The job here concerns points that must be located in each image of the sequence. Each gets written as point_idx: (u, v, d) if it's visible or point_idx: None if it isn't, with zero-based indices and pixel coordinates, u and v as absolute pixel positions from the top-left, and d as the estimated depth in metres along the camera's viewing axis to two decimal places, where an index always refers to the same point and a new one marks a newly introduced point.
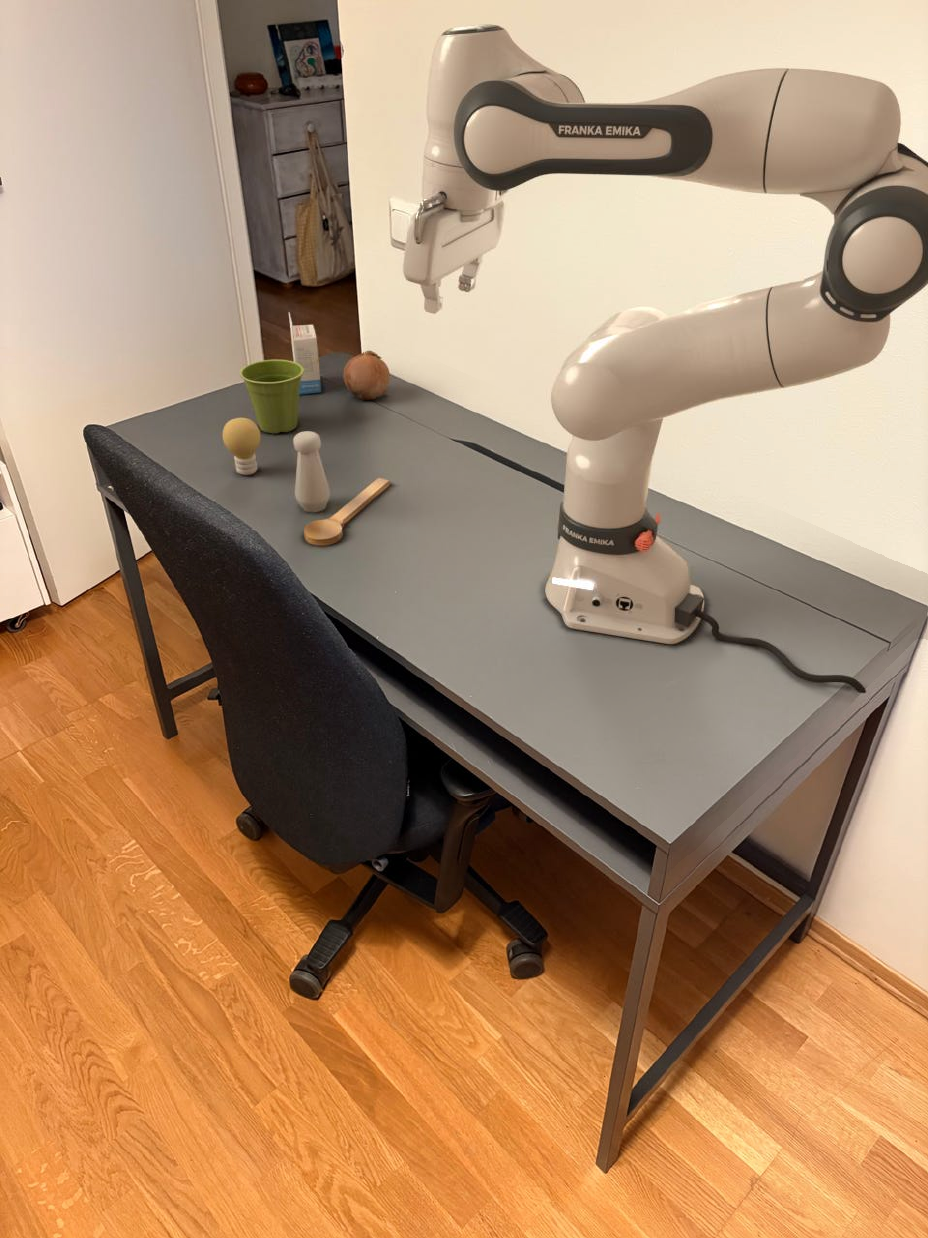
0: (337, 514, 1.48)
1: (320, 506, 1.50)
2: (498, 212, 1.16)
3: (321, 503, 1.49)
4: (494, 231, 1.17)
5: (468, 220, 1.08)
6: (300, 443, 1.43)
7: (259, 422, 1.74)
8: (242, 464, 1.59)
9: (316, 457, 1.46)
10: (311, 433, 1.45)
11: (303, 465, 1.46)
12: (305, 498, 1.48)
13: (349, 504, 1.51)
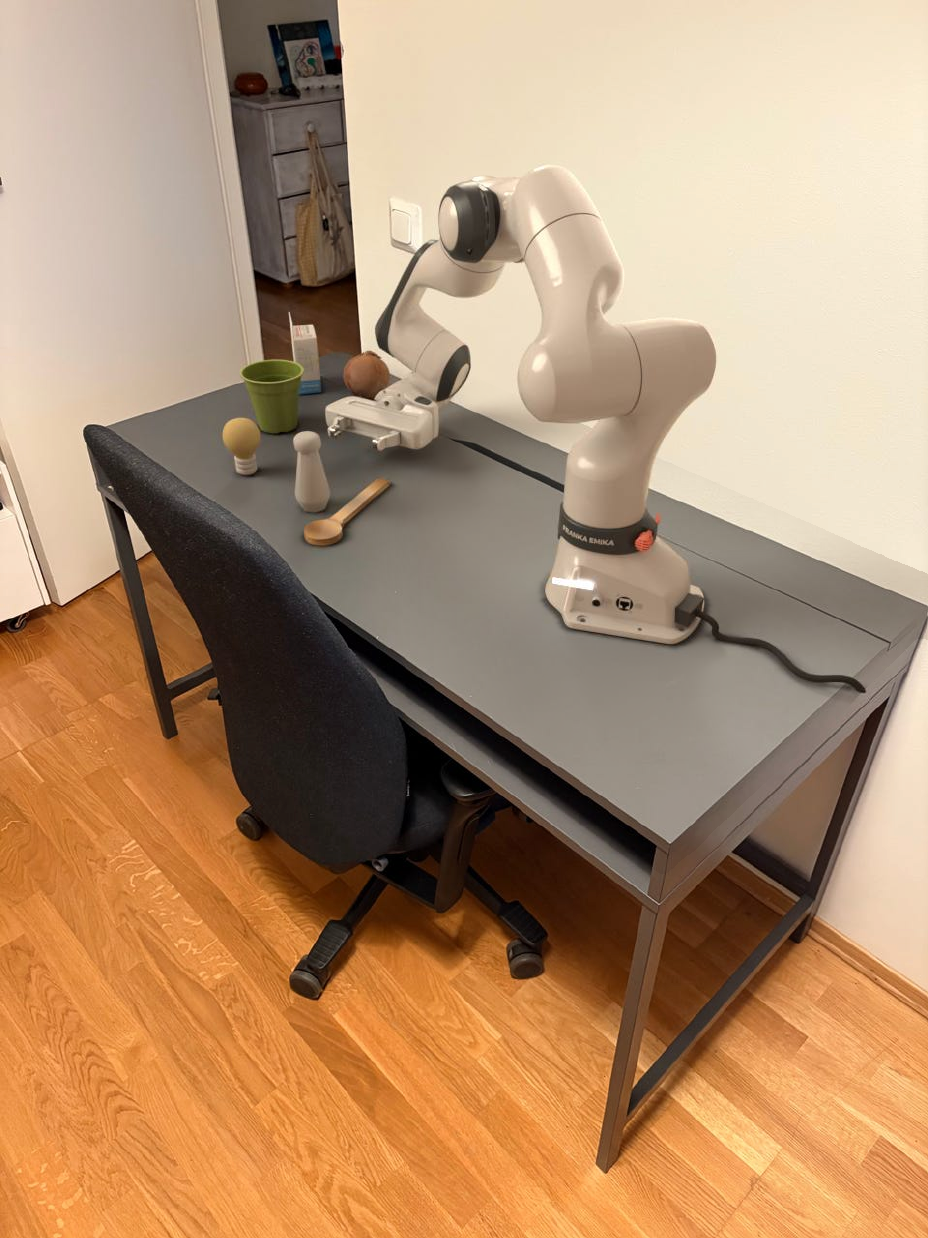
0: (337, 514, 1.48)
1: (320, 506, 1.50)
2: (421, 417, 1.58)
3: (321, 503, 1.49)
4: (413, 423, 1.57)
5: (378, 401, 1.63)
6: (300, 443, 1.43)
7: (259, 422, 1.74)
8: (242, 464, 1.59)
9: (316, 457, 1.46)
10: (311, 433, 1.45)
11: (303, 465, 1.46)
12: (305, 498, 1.48)
13: (349, 504, 1.51)
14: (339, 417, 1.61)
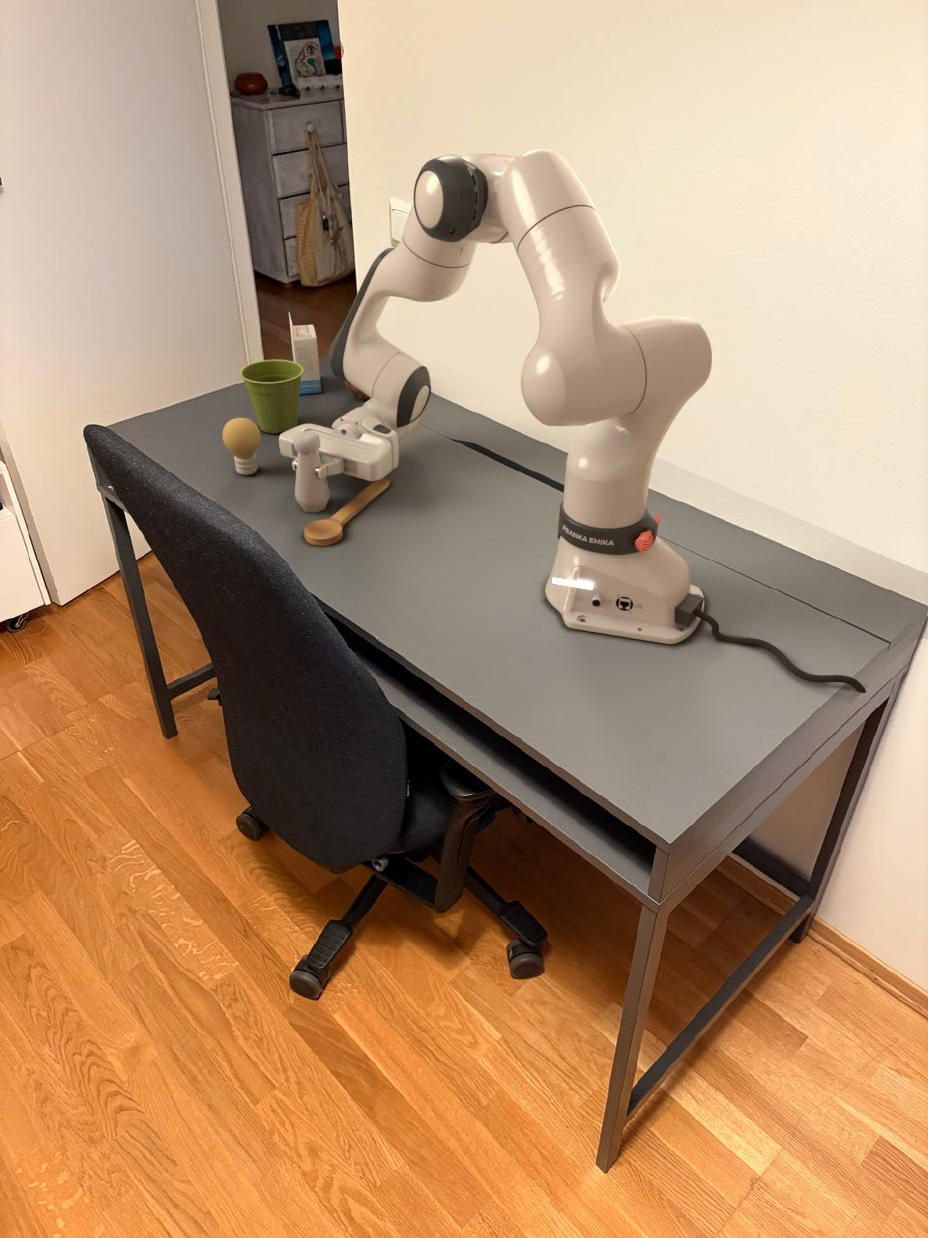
0: (337, 514, 1.48)
1: (320, 506, 1.50)
2: (379, 447, 1.49)
3: (321, 503, 1.49)
4: (370, 454, 1.48)
5: (335, 429, 1.54)
6: (300, 443, 1.43)
7: (259, 422, 1.74)
8: (242, 464, 1.59)
9: (316, 457, 1.46)
10: (311, 433, 1.45)
11: (303, 465, 1.46)
12: (305, 498, 1.48)
13: (349, 504, 1.51)
14: None
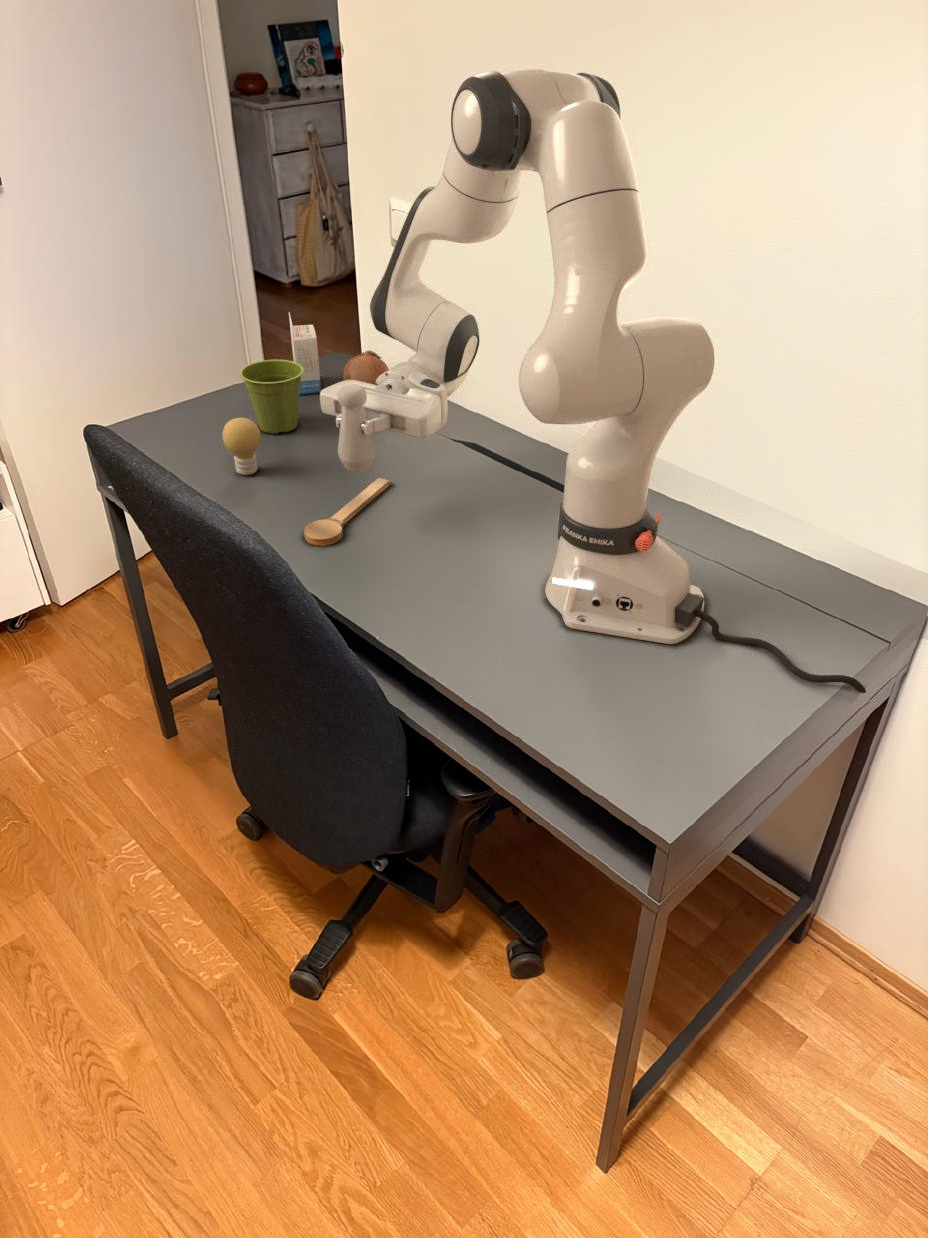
0: (337, 514, 1.48)
1: (365, 465, 1.41)
2: (428, 402, 1.40)
3: (366, 462, 1.40)
4: (419, 409, 1.39)
5: (379, 384, 1.45)
6: (345, 396, 1.34)
7: (259, 422, 1.74)
8: (242, 464, 1.59)
9: (362, 412, 1.37)
10: (356, 386, 1.36)
11: (348, 421, 1.37)
12: (349, 456, 1.39)
13: (349, 504, 1.51)
14: None
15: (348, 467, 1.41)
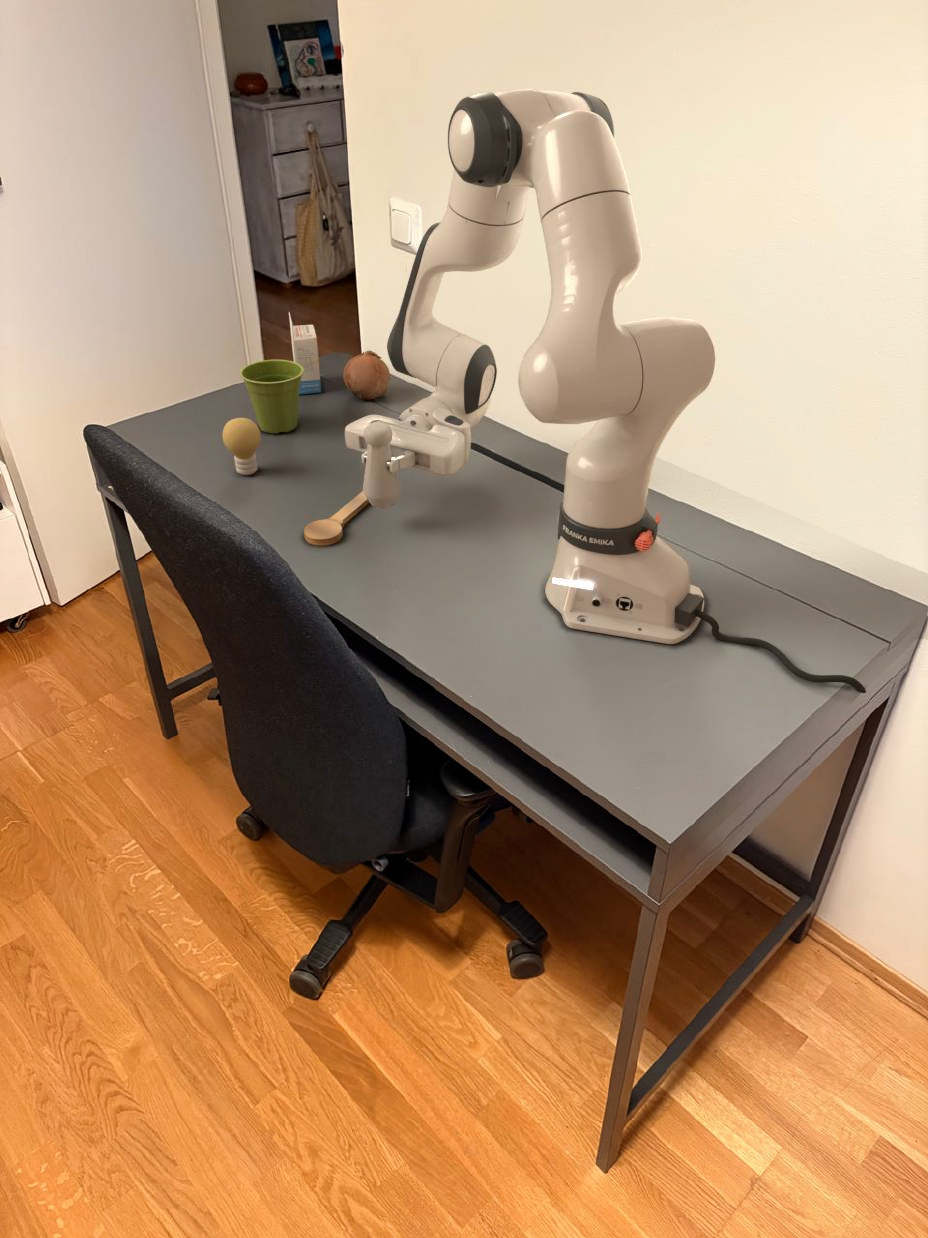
0: (337, 514, 1.48)
1: (390, 501, 1.43)
2: (452, 440, 1.42)
3: (391, 498, 1.42)
4: (443, 447, 1.41)
5: (404, 420, 1.47)
6: (372, 435, 1.36)
7: (259, 422, 1.74)
8: (242, 464, 1.59)
9: (387, 450, 1.39)
10: (383, 425, 1.38)
11: (374, 459, 1.39)
12: (374, 493, 1.41)
13: (349, 504, 1.51)
14: None
15: (373, 503, 1.43)
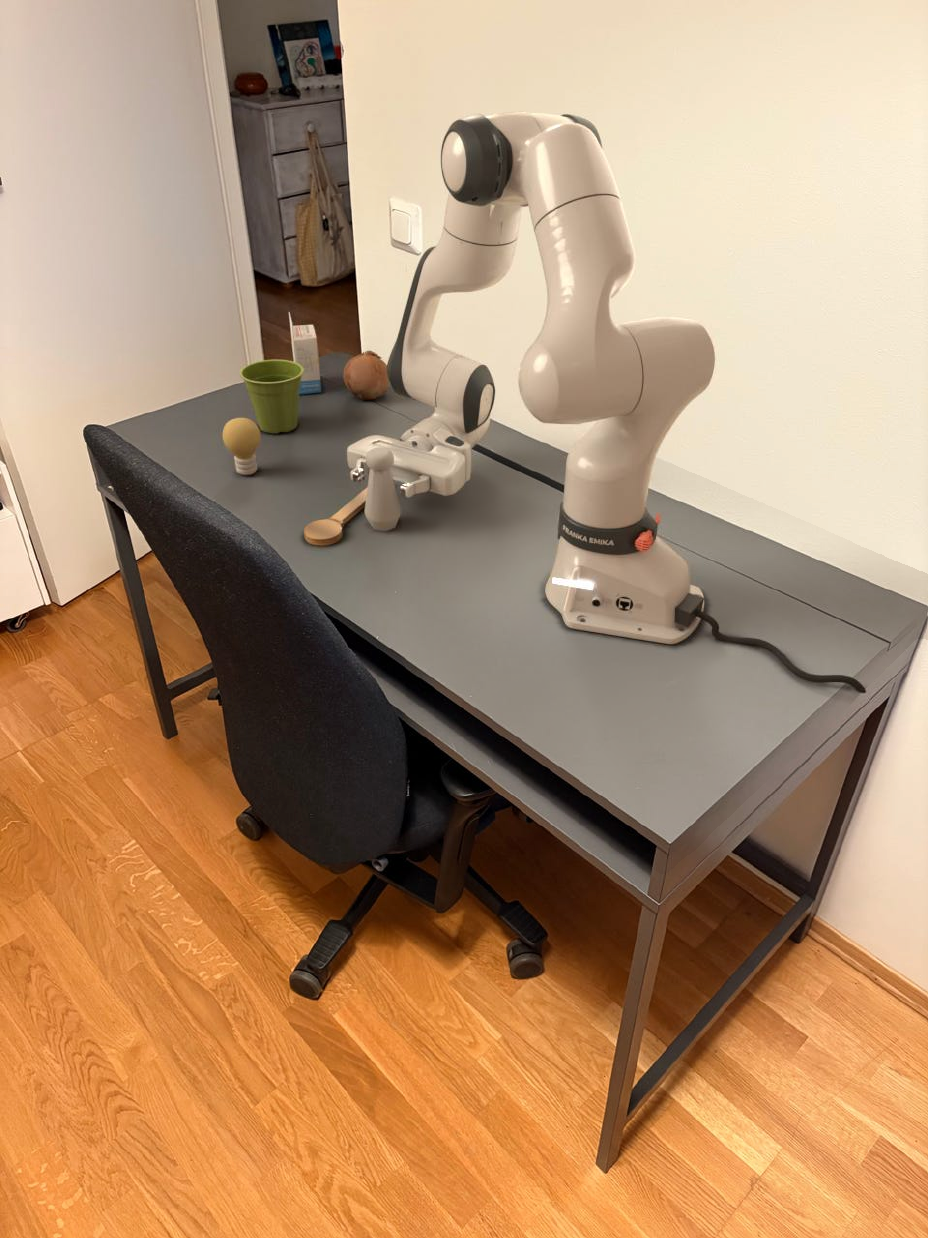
0: (337, 514, 1.48)
1: (391, 524, 1.45)
2: (453, 460, 1.44)
3: (392, 521, 1.45)
4: (444, 467, 1.43)
5: (405, 441, 1.49)
6: (373, 460, 1.39)
7: (259, 422, 1.74)
8: (242, 464, 1.59)
9: (389, 474, 1.41)
10: (384, 450, 1.40)
11: (376, 483, 1.41)
12: (376, 516, 1.44)
13: (349, 504, 1.51)
14: (362, 459, 1.47)
15: (374, 526, 1.45)
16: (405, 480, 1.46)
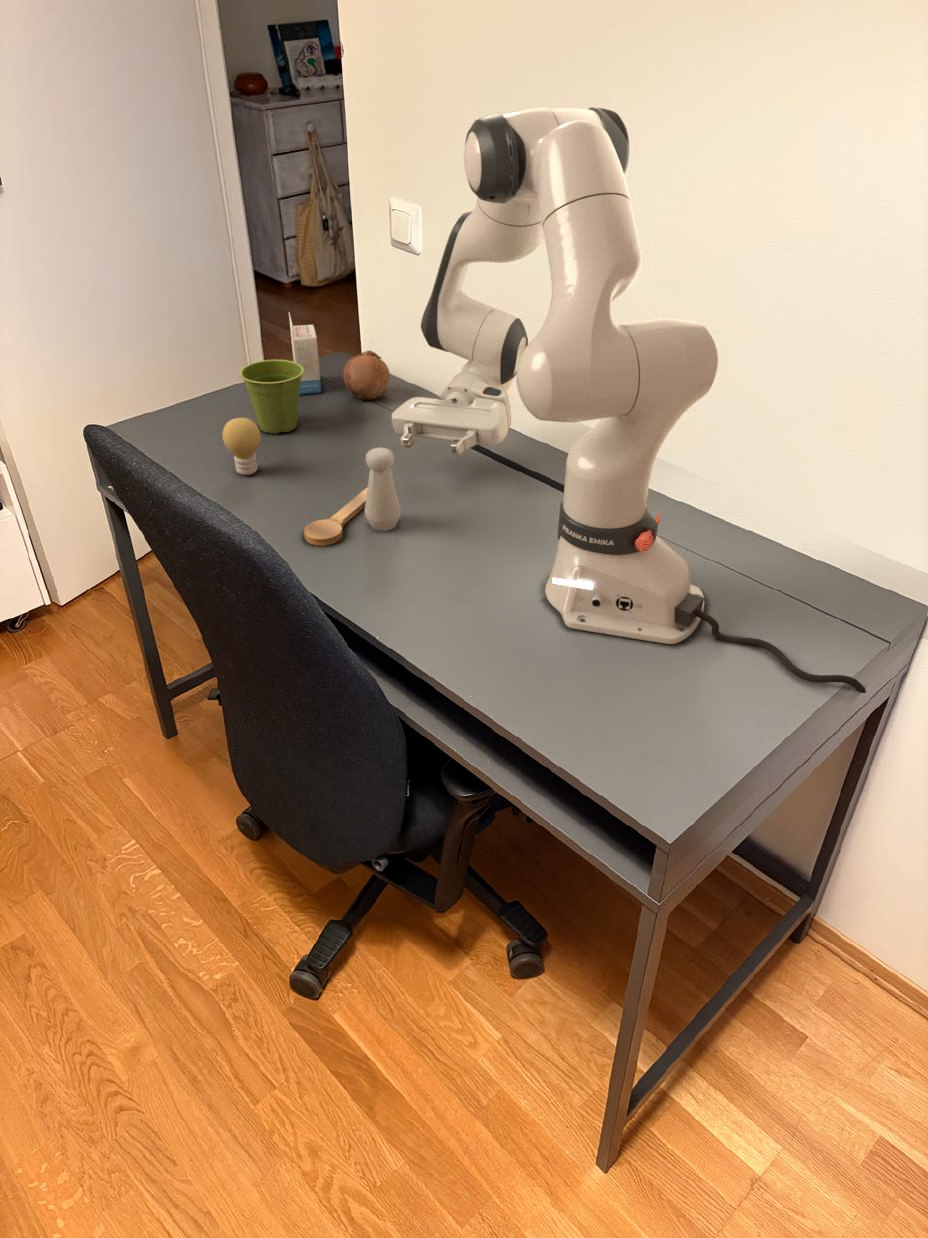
0: (337, 514, 1.48)
1: (391, 524, 1.45)
2: (494, 411, 1.51)
3: (392, 521, 1.45)
4: (488, 419, 1.50)
5: (444, 399, 1.56)
6: (373, 460, 1.39)
7: (259, 422, 1.74)
8: (242, 464, 1.59)
9: (389, 474, 1.41)
10: (384, 450, 1.40)
11: (376, 483, 1.41)
12: (376, 516, 1.44)
13: (349, 504, 1.51)
14: (408, 424, 1.54)
15: (374, 526, 1.45)
16: (452, 437, 1.53)
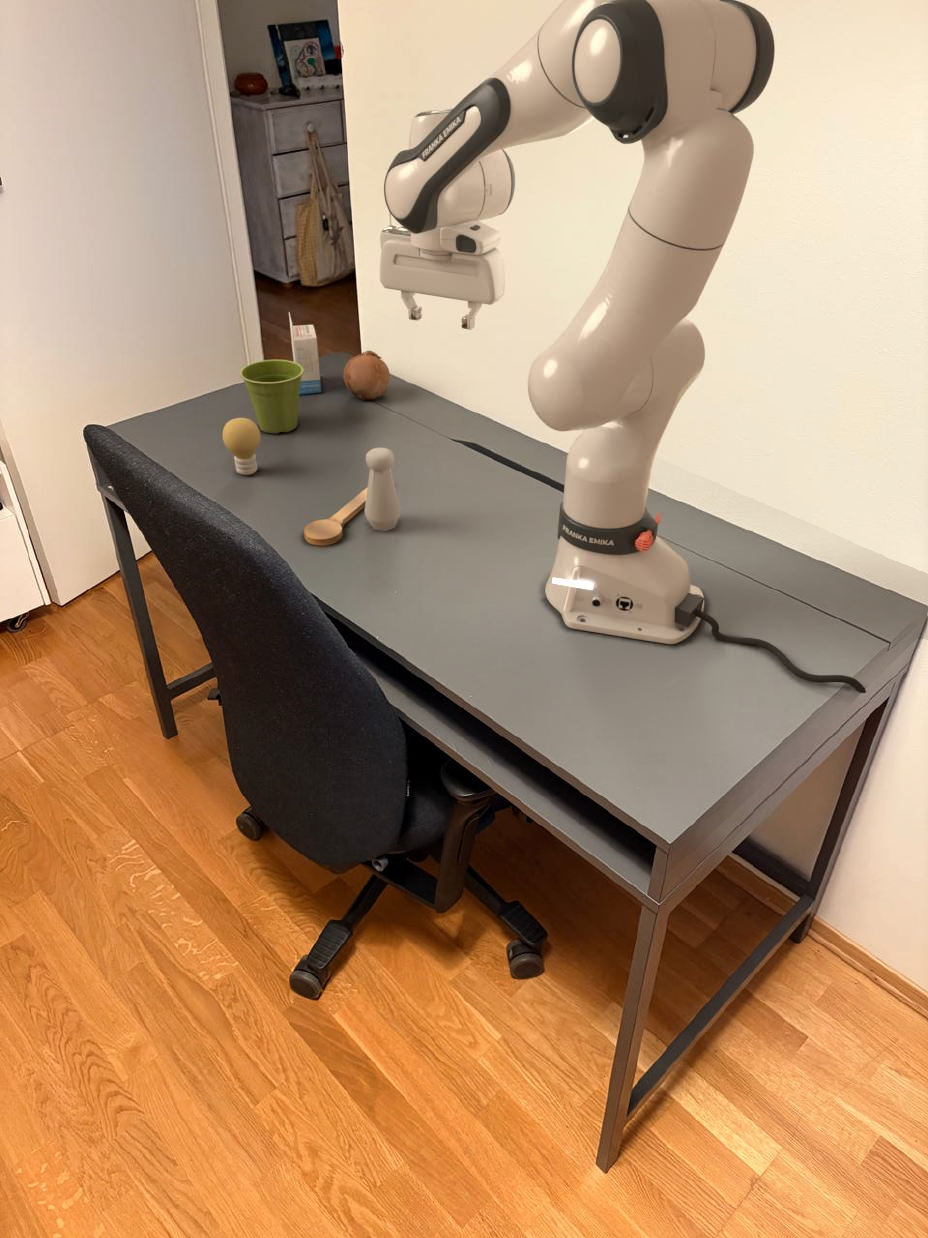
0: (337, 514, 1.48)
1: (391, 524, 1.45)
2: (481, 271, 1.34)
3: (392, 521, 1.45)
4: (481, 287, 1.36)
5: (421, 255, 1.37)
6: (373, 460, 1.39)
7: (259, 422, 1.74)
8: (242, 464, 1.59)
9: (389, 474, 1.41)
10: (384, 450, 1.40)
11: (376, 483, 1.41)
12: (376, 516, 1.44)
13: (349, 504, 1.51)
14: (404, 293, 1.43)
15: (374, 526, 1.45)
16: None
